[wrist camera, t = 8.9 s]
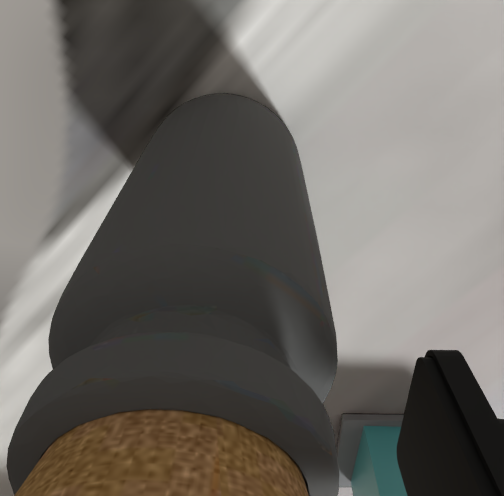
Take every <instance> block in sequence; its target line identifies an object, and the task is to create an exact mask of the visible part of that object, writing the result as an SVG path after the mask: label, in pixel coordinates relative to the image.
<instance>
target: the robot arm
mask: <svg viewBox="0 0 504 496" xmlns="http://www.w3.org/2000/svg"><path fill="white" fill-rule="evenodd" d="M396 452H397V461H398V466H399V469H400V472H401V476H402V479H403V483H404V486H405V489H406V493H407V496H504V419H497V417H496V415H495V413H494V412H493V410H492V408H491V406H490V404H489V402H488V401H487V399H486V397H485V395H484V393H483V392H482V390H481V388H480V386H479V384H478V382H477V381H476V379H475V377H474V375H473V373H472V371H471V370H470V368H469V366H468V364H467V362H466V361H465V359H464V357H463V355H462V354H461V353H460V352H459V351H458V350H428V351H427V353H426V355H425V357H420V358H418V359H417V361H416V365H415V369H414V374H413V378H412V382H411V386H410V391H409V395H408V399H407V404H406V408H405V412H404V417H403V421H402V425H401V429H400V434H399V438H398V442H397V451H396Z"/></svg>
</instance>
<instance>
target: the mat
mask: <svg viewBox="0 0 504 496" xmlns="http://www.w3.org/2000/svg"><path fill="white" fill-rule="evenodd" d="M403 417H404V415H383V414H342V419H341V425H340V432H339V438H338V445H337V451H336V453H337V460H338V467H339V474H340V475H339V487H352V485H351V479H352V475H353V470H354V466H355V462H356V457H357V453H358V449H359V444H360V440H361V436H362V431H363V427H364V426H390V427H401V425H402V421H403Z"/></svg>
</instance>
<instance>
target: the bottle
mask: <svg viewBox="0 0 504 496" xmlns="http://www.w3.org/2000/svg"><path fill="white" fill-rule="evenodd" d="M49 355H50V359H51V364H52V368H53V370H52V371H51V372H50V373H49V374H48V375H47V376H46V377H45V378H44V379H43V380H42V382H41V383H40V384H39V386H38V387H37V389H36V390H35V392H34V393H33V395H32V396H31V398H30V400H29V402H28V404H27V406H26V408H25V410H24V412H23V414H22V416H21V418H20V420H19V422H18V424H17V426H16V428H15V431H14V433H13V436H12V439H11V442H10V445H9V448H8V456H7V471H8V476H9V480H10V483H11V486H12V489H13V492H14V494H15V496H337V495H338V492H339V475H340V474H339V467H338V460H337V453H336V446H335V439H334V433H333V430H332V426H331V423H330V419H329V416H328V414H327V412H326V410H325V407H324V405H323V403H324V401H325V399H326V397H327V395H328V393H329V391H330V389H331V387H332V384H333V381H334V377H335V374H336V369H337V342H336V332H335V327H334V322H333V317H332V311H331V306H330V301H329V296H328V291H327V286H326V281H325V276H324V271H323V265H322V260H321V255H320V250H319V245H318V240H317V235H316V231H315V226H314V221H313V217H312V212H311V207H310V203H309V198H308V193H307V189H306V184H305V179H304V175H303V170H302V166H301V161H300V158H299V154H298V150H297V147H296V144H295V142H294V139H293V137H292V135H291V134H290V132H289V130H288V129H287V127H286V126H285V124H284V123H283V122H282V121H281V120H280V119H279V118H278V116H276V115H275V114H274V113H273V112H272V111H270V110H269V109H268V108H267V107H265V106H264V105H262V104H260V103H258V102H256V101H254V100H251V99H249V98H246V97H243V96H238V95H232V94H211V95H205V96H202V97H199V98H195V99H193V100H191V101H188V102H186V103H184V104H183V105H181V106H179V107H178V108H176V109H175V110H174V111H173V112H172V113H171V114H170V115H169V116H167V118H166V119H165V120H164V121H163V122H162V124H161V125H160V126H159V128H158V129H157V131H156V132H155V134H154V135H153V137H152V139H151V140H150V142H149V143H148V145H147V146H146V148H145V150H144V152H143V153H142V155H141V157H140V158H139V160H138V162H137V164H136V165H135V167H134V169H133V171H132V172H131V174H130V176H129V178H128V179H127V181H126V183H125V184H124V186H123V188H122V190H121V191H120V193H119V195H118V197H117V198H116V200H115V202H114V204H113V205H112V207H111V209H110V210H109V212H108V214H107V216H106V217H105V219H104V221H103V223H102V224H101V226H100V228H99V229H98V231H97V233H96V235H95V236H94V238H93V240H92V242H91V243H90V245H89V247H88V249H87V250H86V252H85V254H84V255H83V257H82V259H81V261H80V262H79V264H78V266H77V268H76V270H75V271H74V273H73V275H72V277H71V279H70V281H69V283H68V284H67V286H66V288H65V290H64V292H63V294H62V296H61V298H60V301H59V303H58V305H57V307H56V310H55V313H54V315H53V318H52V323H51V328H50V334H49Z"/></svg>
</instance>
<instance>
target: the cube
mask: <svg viewBox="0 0 504 496" xmlns="http://www.w3.org/2000/svg"><path fill="white" fill-rule="evenodd" d="M400 429H401V427H390V426H364V427H363V431H362V436H361V440H360V444H359V449H358V453H357V457H356V462H355V466H354V470H353V475H352V479H351V485H352V491H353V496H407V493H406V489H405V486H404V483H403V479H402V476H401V472H400V469H399V466H398V461H397V452H396V451H397V442H398V438H399V434H400Z"/></svg>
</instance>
